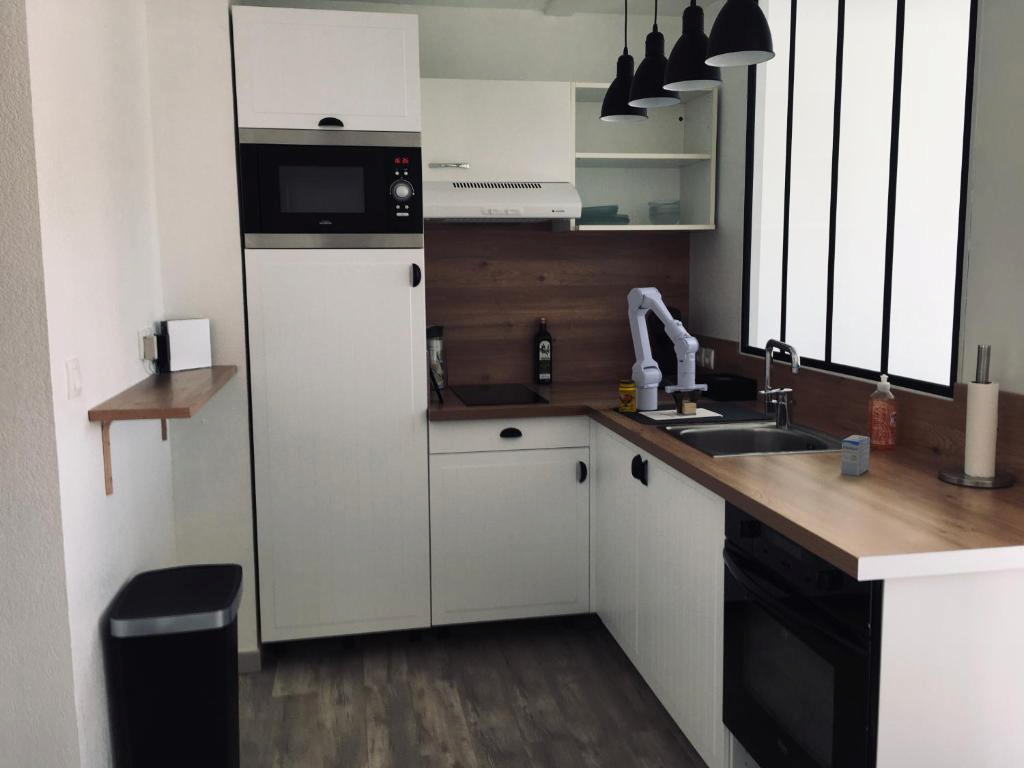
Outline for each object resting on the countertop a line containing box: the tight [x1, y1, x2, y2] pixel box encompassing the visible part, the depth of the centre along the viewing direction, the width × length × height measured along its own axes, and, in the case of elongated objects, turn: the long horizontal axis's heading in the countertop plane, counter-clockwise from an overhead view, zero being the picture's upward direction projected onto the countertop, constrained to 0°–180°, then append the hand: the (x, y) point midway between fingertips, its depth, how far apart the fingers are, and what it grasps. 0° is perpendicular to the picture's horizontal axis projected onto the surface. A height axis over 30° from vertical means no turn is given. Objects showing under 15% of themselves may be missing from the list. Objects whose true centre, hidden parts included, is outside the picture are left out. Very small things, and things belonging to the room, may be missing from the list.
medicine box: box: [840, 434, 871, 477], centre depth 223 cm, size 8×4×9 cm, turn 141°
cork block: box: [677, 400, 697, 416], centre depth 305 cm, size 7×4×4 cm, turn 14°
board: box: [638, 408, 724, 421], centre depth 306 cm, size 16×24×1 cm, turn 103°
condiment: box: [618, 379, 637, 413], centre depth 316 cm, size 7×8×12 cm
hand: (686, 412), depth 306 cm, fingers closed on cork block, 4 cm apart
